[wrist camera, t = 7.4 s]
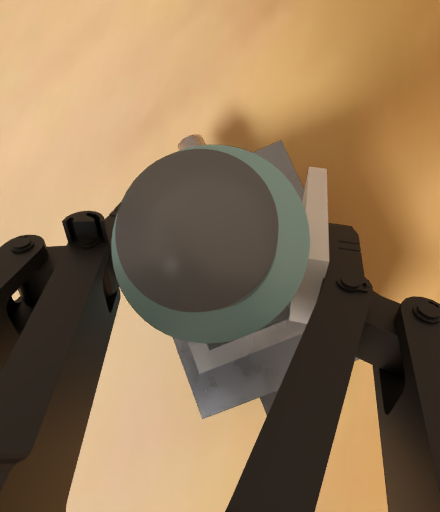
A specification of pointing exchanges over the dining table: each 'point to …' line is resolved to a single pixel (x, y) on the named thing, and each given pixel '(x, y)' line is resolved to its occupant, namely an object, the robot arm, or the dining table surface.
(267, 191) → the teal bottle
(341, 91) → the dining table surface
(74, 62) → the dining table surface
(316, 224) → the robot arm
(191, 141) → the square hollow holder
